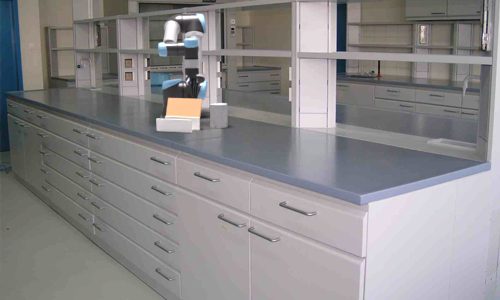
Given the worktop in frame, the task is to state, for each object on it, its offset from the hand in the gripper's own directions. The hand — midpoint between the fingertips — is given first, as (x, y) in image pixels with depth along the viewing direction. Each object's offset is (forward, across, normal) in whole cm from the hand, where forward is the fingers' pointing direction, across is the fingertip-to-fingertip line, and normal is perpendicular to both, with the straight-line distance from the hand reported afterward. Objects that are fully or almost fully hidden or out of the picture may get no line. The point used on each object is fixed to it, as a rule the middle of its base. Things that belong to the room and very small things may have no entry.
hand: (193, 111), depth 300 cm
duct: (+8, +17, 0) cm, 19 cm away
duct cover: (-3, +11, 0) cm, 11 cm away
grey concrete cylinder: (+8, -1, +15) cm, 17 cm away
